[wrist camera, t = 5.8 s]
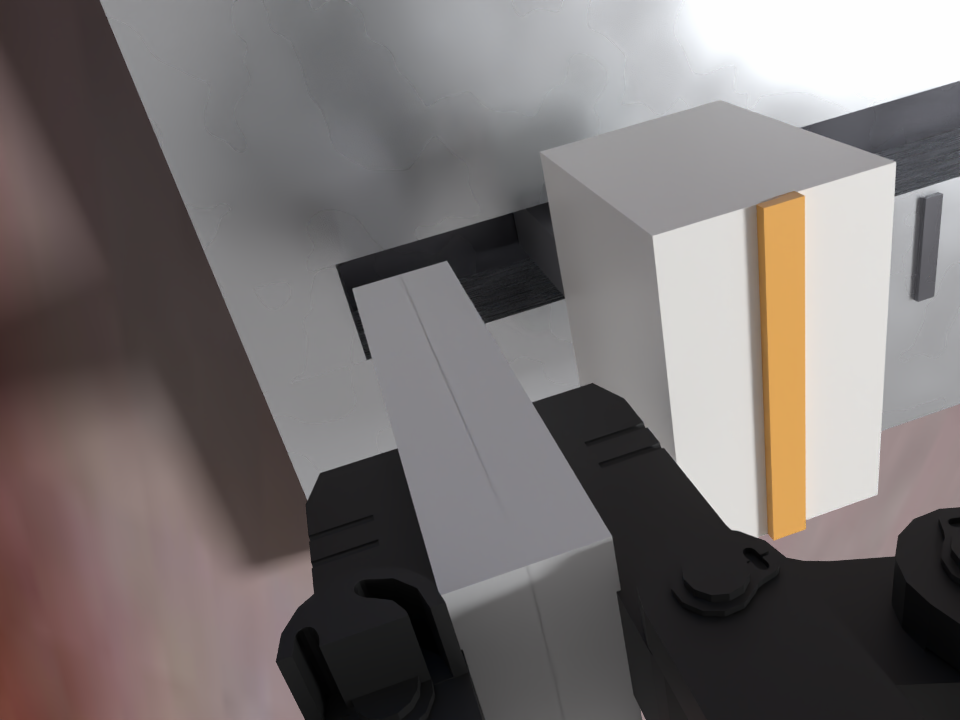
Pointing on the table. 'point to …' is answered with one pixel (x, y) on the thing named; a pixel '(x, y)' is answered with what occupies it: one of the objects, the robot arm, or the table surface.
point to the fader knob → (730, 300)
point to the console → (508, 162)
